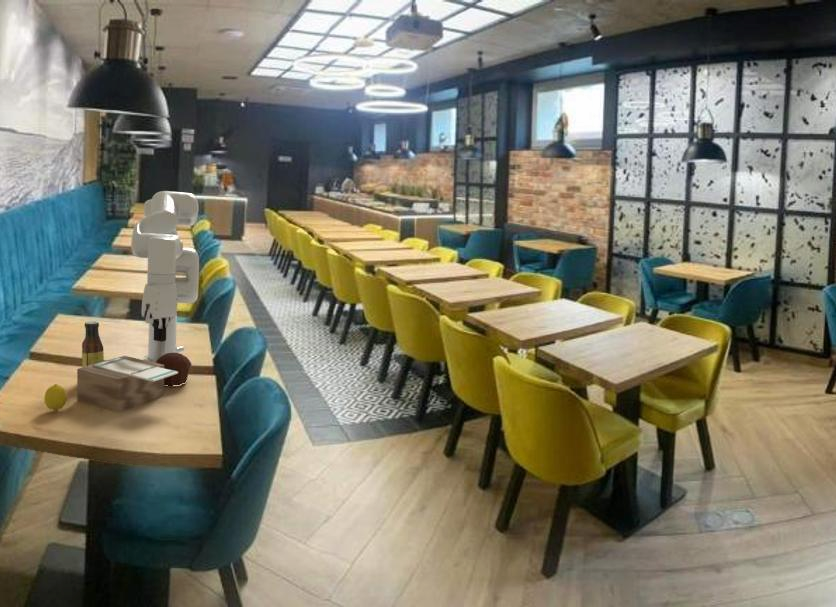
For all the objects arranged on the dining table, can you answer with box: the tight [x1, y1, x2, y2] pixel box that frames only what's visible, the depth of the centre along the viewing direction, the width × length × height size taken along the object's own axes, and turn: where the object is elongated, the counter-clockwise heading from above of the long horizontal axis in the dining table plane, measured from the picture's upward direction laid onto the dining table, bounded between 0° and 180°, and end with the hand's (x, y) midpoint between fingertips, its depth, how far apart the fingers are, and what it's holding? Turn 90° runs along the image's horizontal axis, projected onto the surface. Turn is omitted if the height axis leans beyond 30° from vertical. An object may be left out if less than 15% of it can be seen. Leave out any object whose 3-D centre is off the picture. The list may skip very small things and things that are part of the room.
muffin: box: [156, 352, 192, 386], centre depth 212 cm, size 12×11×10 cm
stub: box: [132, 367, 178, 382], centre depth 189 cm, size 10×8×1 cm
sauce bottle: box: [81, 320, 105, 368], centre depth 205 cm, size 7×6×20 cm
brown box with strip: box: [76, 355, 165, 413], centre depth 194 cm, size 18×16×11 cm
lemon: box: [44, 384, 68, 412], centre depth 180 cm, size 6×6×8 cm
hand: (159, 340), depth 188 cm, fingers closed
